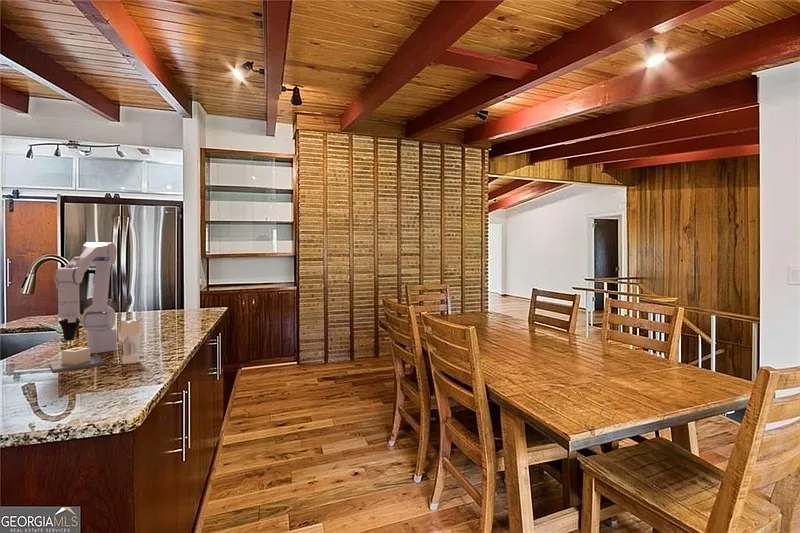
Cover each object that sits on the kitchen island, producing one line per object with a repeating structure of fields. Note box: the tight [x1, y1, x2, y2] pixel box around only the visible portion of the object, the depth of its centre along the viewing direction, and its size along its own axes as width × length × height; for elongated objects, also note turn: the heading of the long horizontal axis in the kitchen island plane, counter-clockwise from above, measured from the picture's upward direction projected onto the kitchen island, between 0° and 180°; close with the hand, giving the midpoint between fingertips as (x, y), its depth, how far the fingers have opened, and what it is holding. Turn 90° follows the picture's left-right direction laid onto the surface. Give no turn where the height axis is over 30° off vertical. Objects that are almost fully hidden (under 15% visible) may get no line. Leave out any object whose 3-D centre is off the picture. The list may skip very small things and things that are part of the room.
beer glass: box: [117, 319, 142, 365], centre depth 145 cm, size 7×7×15 cm
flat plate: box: [49, 355, 106, 373], centre depth 141 cm, size 14×12×4 cm
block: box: [61, 346, 91, 365], centre depth 141 cm, size 6×6×4 cm
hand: (69, 340), depth 139 cm, fingers closed
